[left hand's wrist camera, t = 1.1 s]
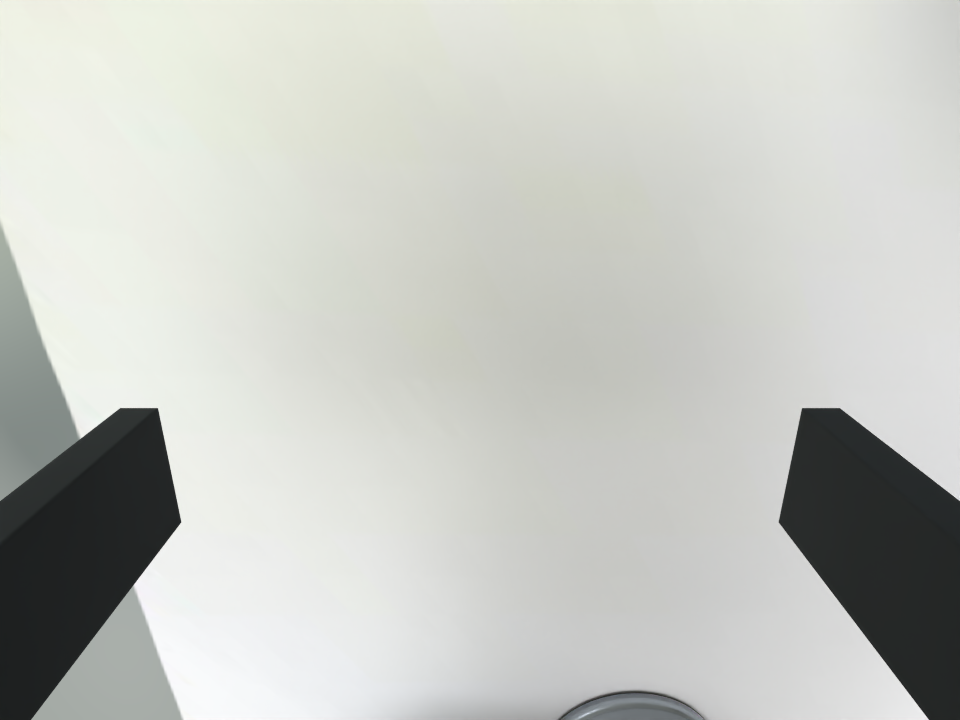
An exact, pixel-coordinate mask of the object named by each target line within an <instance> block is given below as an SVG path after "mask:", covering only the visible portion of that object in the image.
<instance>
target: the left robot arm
mask: <svg viewBox="0 0 960 720" xmlns="http://www.w3.org/2000/svg"><path fill="white" fill-rule="evenodd" d="M180 523H181V518H180V514H179V509H178V504H177V499H176V494H175V489H174V484H173V480H172V475H171V470H170V465H169V460H168V455H167V450H166V445H165V441H164V436H163V431H162V426H161V421H160V416H159V411H158V408H120V409H119V410H117V411H116V412H115V413H114V414H112V415H111V416H110V417H108V418H107V419H106V420H104V421H103V422H102V423H101V424H99V425H98V426H97V427H95V428H94V429H93V430H92V431H90V432H89V433H88V434H86V435H85V436H84V437H83V438H81V439H80V440H79V441H77V442H76V443H75V444H74V445H72V446H71V447H70V448H68V449H67V450H66V451H64V452H63V453H62V454H61V455H59V456H58V457H57V458H56V459H54V460H53V461H52V462H50V463H49V464H48V465H46V466H45V467H44V468H43V469H41V470H40V471H39V472H37V473H36V474H35V475H34V476H32V477H31V478H30V479H28V480H27V481H26V482H24V483H23V484H22V485H21V486H19V487H18V488H17V489H15V490H14V491H13V492H12V493H10V494H9V495H8V496H6V497H5V498H4V499H3V500H1V501H0V720H31V719H32V718H33V716H34V715H35V714H36V712H37V711H38V710H39V708H40V707H41V706H42V705H43V703H44V702H45V701H46V699H47V698H48V697H49V695H50V694H51V693H52V691H53V690H54V689H55V687H56V686H57V685H58V683H59V682H60V681H61V680H62V678H63V677H64V676H65V674H66V673H67V672H68V670H69V669H70V668H71V666H72V665H73V664H74V662H75V661H76V660H77V659H78V657H79V656H80V655H81V653H82V652H83V651H84V649H85V648H86V647H87V645H88V644H89V643H90V641H91V640H92V639H93V637H94V636H95V635H96V634H97V632H98V631H99V630H100V628H101V627H102V626H103V624H104V623H105V622H106V620H107V619H108V618H109V616H110V615H111V614H112V613H113V611H114V610H115V609H116V607H117V606H118V605H119V603H120V602H121V601H122V599H123V598H124V597H125V595H126V594H127V593H128V592H129V590H130V589H131V588H132V586H133V585H134V584H135V582H136V581H137V580H138V578H139V577H140V576H141V574H142V573H143V572H144V571H145V569H146V568H147V567H148V565H149V564H150V563H151V561H152V560H153V559H154V557H155V556H156V555H157V553H158V552H159V551H160V549H161V548H162V547H163V546H164V544H165V543H166V542H167V540H168V539H169V538H170V536H171V535H172V534H173V532H174V531H175V530H176V528H177V527H178V526H179V525H180ZM779 523H780V525H781V526H782V527H783V528H784V530H785V531H786V532H787V534H788V535H789V536H790V538H791V539H792V540H793V542H794V543H795V544H796V546H797V547H798V548H799V549H800V551H801V552H802V553H803V555H804V556H805V557H806V559H807V560H808V561H809V563H810V564H811V565H812V567H813V568H814V569H815V571H816V572H817V573H818V574H819V576H820V577H821V578H822V580H823V581H824V582H825V584H826V585H827V586H828V588H829V589H830V590H831V592H832V593H833V594H834V595H835V597H836V598H837V599H838V601H839V602H840V603H841V605H842V606H843V607H844V609H845V610H846V611H847V613H848V614H849V615H850V616H851V618H852V619H853V620H854V622H855V623H856V624H857V626H858V627H859V628H860V630H861V631H862V632H863V634H864V635H865V636H866V638H867V639H868V640H869V641H870V643H871V644H872V645H873V647H874V648H875V649H876V651H877V652H878V653H879V655H880V656H881V657H882V659H883V660H884V661H885V662H886V664H887V665H888V666H889V668H890V669H891V670H892V672H893V673H894V674H895V676H896V677H897V678H898V680H899V681H900V682H901V684H902V685H903V686H904V687H905V689H906V690H907V691H908V693H909V694H910V695H911V697H912V698H913V699H914V701H915V702H916V703H917V705H918V706H919V707H920V708H921V710H922V711H923V712H924V714H925V715H926V716H927V718H928V719H929V720H960V501H959V500H958V499H956V498H955V497H954V496H952V495H951V494H950V493H948V492H947V491H946V490H945V489H943V488H942V487H941V486H939V485H938V484H937V483H936V482H934V481H933V480H932V479H930V478H929V477H928V476H927V475H925V474H924V473H923V472H921V471H920V470H919V469H917V468H916V467H915V466H914V465H912V464H911V463H910V462H908V461H907V460H906V459H905V458H903V457H902V456H901V455H899V454H898V453H897V452H896V451H894V450H893V449H892V448H890V447H889V446H888V445H886V444H885V443H884V442H883V441H881V440H880V439H879V438H877V437H876V436H875V435H874V434H872V433H871V432H870V431H868V430H867V429H866V428H865V427H863V426H862V425H861V424H859V423H858V422H857V421H856V420H854V419H853V418H852V417H850V416H849V415H848V414H846V413H845V412H844V411H843V410H841V409H840V408H802V411H801V416H800V421H799V426H798V431H797V436H796V441H795V445H794V450H793V455H792V460H791V465H790V470H789V475H788V480H787V484H786V489H785V494H784V499H783V504H782V509H781V514H780V518H779ZM561 720H704V719H703V718H702V717H701V716H700V715H699V714H698V713H697V712H695V711H694V710H693V709H691V708H690V707H688V706H686V705H685V704H682V703H680V702H678V701H676V700H673V699H670V698H667V697H663V696H658V695H653V694H643V693H627V694H618V695H612V696H607V697H603V698H600V699H596V700H593V701H591V702H588V703H586V704H584V705H582V706H580V707H578V708H576V709H574V710H573V711H571V712H570V713H568V714H567V715H566V716H564V717H563V718H562V719H561Z"/></svg>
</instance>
